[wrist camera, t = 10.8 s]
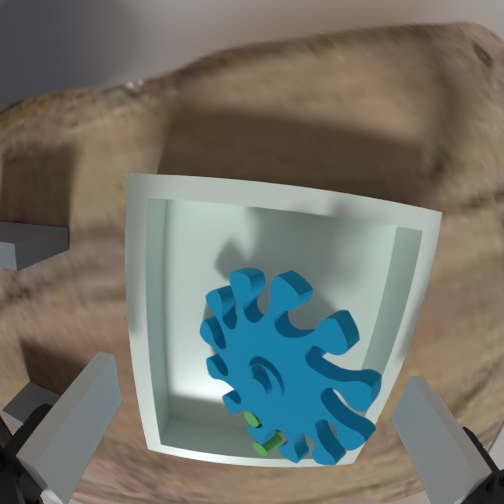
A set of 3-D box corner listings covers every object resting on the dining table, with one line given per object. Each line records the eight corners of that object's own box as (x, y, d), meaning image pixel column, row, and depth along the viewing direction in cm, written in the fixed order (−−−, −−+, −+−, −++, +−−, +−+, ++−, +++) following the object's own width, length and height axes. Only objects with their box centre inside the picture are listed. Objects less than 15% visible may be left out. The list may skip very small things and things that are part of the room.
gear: (191, 238, 13) (416, 359, 6) (280, 223, 16) (451, 291, 10) (192, 402, 16) (310, 505, 10) (258, 367, 20) (368, 442, 14)
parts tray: (160, 416, 18) (148, 449, 15) (155, 175, 14) (128, 173, 11) (343, 430, 18) (352, 463, 15) (407, 205, 14) (441, 212, 11)
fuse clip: (34, 392, 19) (8, 421, 14) (-2, 221, 15) (-48, 233, 10) (99, 419, 19) (76, 457, 14) (68, 227, 15) (14, 243, 10)
